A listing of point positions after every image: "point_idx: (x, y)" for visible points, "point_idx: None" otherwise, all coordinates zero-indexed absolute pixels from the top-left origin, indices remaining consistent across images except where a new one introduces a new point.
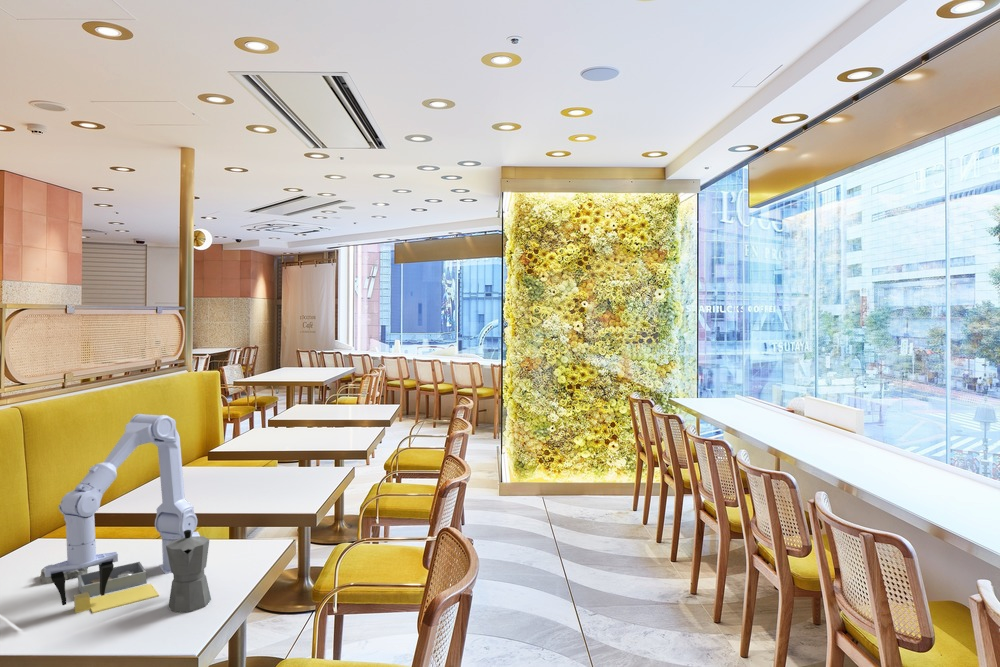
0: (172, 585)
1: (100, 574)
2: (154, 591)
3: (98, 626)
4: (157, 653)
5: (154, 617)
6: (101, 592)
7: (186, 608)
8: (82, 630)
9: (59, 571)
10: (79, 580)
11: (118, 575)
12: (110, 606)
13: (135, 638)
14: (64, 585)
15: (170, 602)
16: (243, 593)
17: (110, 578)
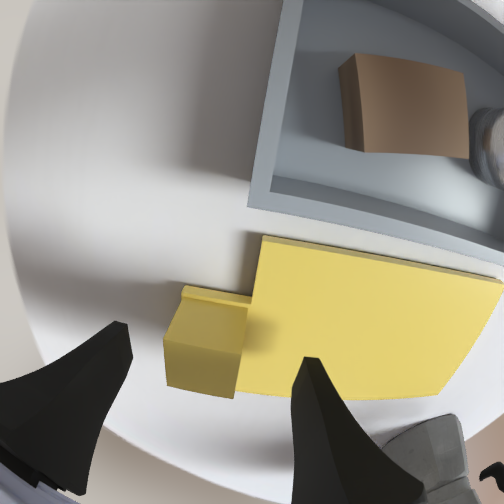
0: None
1: (313, 472)
2: (455, 366)
3: (228, 433)
4: (268, 499)
5: None
6: (291, 406)
7: None
8: (189, 425)
9: (30, 489)
10: (282, 6)
11: (500, 141)
12: None
13: (267, 480)
14: (91, 452)
15: (390, 457)
16: (476, 431)
17: (463, 144)
